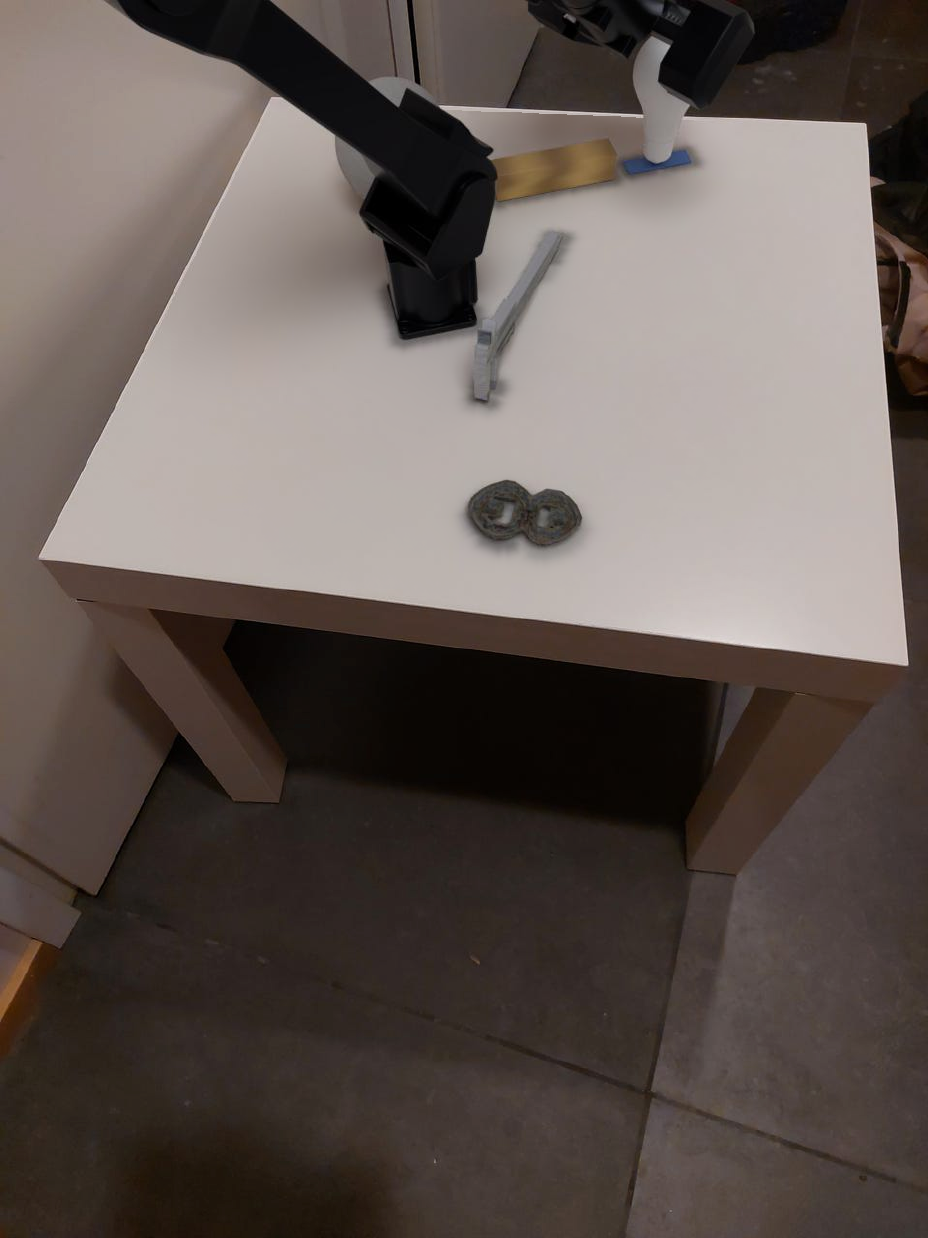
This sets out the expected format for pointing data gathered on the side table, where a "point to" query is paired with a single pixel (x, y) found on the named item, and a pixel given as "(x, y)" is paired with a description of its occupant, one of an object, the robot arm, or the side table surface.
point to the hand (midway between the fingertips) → (673, 66)
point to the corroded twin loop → (524, 512)
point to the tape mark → (646, 165)
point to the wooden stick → (554, 169)
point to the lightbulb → (656, 102)
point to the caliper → (508, 318)
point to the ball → (351, 158)
